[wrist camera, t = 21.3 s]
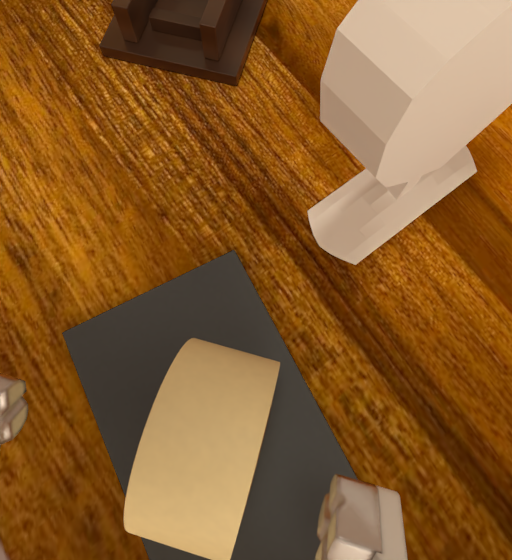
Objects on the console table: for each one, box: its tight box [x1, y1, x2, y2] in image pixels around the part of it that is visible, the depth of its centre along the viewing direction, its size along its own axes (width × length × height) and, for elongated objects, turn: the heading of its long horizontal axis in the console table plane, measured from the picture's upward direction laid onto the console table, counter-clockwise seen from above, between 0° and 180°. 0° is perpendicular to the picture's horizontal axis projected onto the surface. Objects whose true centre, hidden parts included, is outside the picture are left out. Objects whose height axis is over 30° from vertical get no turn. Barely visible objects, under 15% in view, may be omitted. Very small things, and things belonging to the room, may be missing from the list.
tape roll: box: [124, 338, 280, 560], centre depth 21 cm, size 9×5×9 cm, turn 164°
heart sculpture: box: [307, 0, 512, 265], centre depth 22 cm, size 16×5×18 cm, turn 128°
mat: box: [62, 250, 358, 560], centre depth 25 cm, size 20×12×1 cm, turn 27°
